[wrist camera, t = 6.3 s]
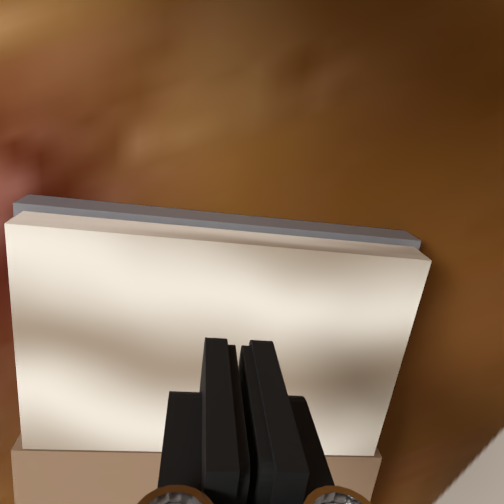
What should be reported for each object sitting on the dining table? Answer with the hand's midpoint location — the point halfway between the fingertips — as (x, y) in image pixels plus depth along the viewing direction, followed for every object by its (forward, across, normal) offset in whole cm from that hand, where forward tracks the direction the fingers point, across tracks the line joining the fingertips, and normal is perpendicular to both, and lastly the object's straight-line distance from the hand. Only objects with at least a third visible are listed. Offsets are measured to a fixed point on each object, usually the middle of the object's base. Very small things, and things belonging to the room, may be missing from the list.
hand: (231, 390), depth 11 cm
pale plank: (+7, 0, +3) cm, 8 cm away
